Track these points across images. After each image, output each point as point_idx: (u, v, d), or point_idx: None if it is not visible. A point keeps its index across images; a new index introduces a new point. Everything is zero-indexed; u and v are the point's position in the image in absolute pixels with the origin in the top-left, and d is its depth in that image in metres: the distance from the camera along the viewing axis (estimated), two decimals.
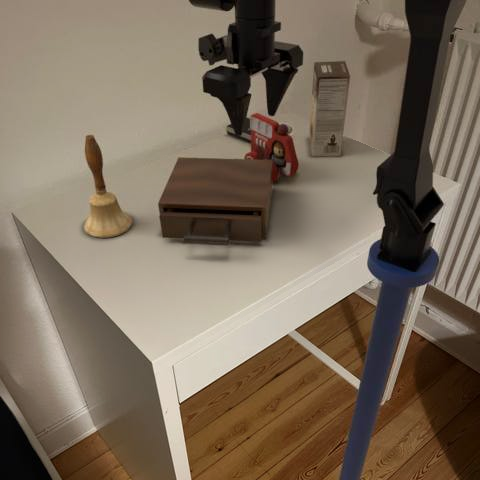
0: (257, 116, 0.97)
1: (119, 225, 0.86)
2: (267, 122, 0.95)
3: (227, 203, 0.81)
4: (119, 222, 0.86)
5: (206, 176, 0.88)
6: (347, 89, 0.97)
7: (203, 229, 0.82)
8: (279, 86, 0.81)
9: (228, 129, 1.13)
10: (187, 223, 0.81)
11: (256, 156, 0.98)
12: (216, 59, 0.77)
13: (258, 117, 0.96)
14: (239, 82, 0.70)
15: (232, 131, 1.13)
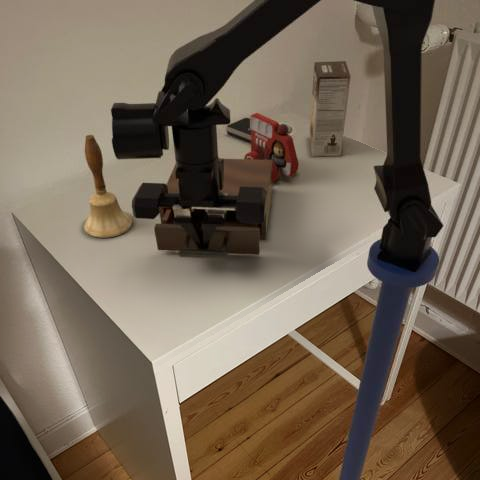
0: (257, 116, 0.97)
1: (119, 225, 0.86)
2: (267, 122, 0.95)
3: None
4: (119, 222, 0.86)
5: None
6: (348, 89, 0.97)
7: None
8: None
9: (228, 129, 1.13)
10: (183, 235, 0.79)
11: (256, 156, 0.98)
12: None
13: (258, 117, 0.96)
14: (139, 206, 0.70)
15: (232, 131, 1.13)
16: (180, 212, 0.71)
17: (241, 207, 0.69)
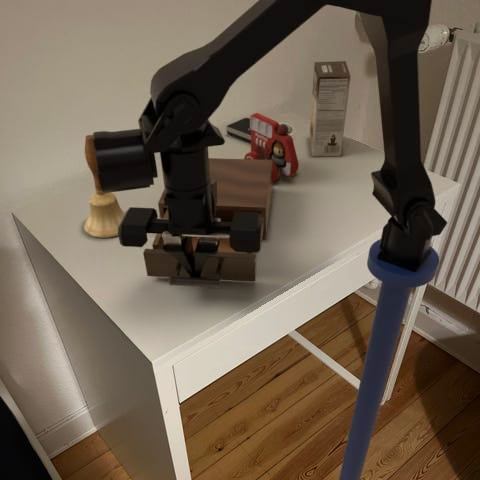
0: (257, 116, 0.97)
1: None
2: (267, 122, 0.95)
3: (227, 203, 0.81)
4: (119, 222, 0.86)
5: None
6: (348, 89, 0.97)
7: None
8: None
9: (228, 129, 1.13)
10: (174, 261, 0.74)
11: (256, 156, 0.98)
12: None
13: (258, 117, 0.96)
14: (126, 233, 0.65)
15: (232, 131, 1.13)
16: (170, 240, 0.66)
17: (235, 235, 0.64)
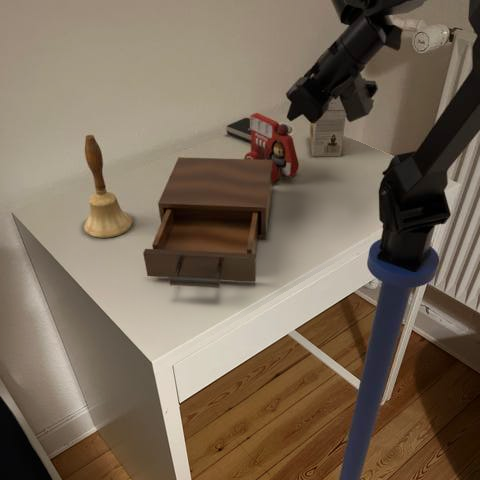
0: (257, 116, 0.97)
1: (119, 225, 0.86)
2: (267, 122, 0.95)
3: (227, 203, 0.81)
4: (119, 222, 0.86)
5: (206, 176, 0.88)
6: None
7: (192, 267, 0.74)
8: None
9: (228, 129, 1.13)
10: (174, 261, 0.74)
11: (256, 156, 0.98)
12: None
13: (258, 117, 0.96)
14: (327, 49, 0.85)
15: (232, 131, 1.13)
16: None
17: (302, 78, 0.76)
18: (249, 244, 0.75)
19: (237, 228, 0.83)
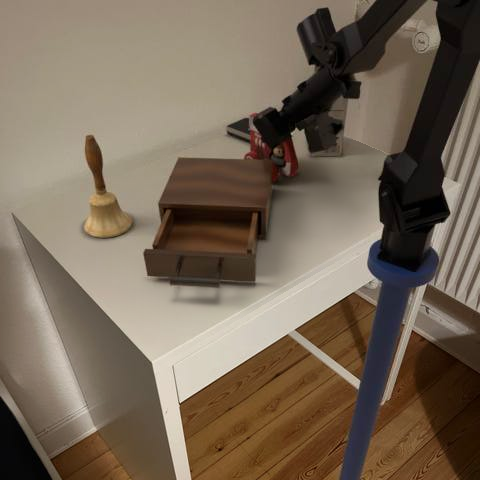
0: None
1: (119, 225, 0.86)
2: None
3: (227, 203, 0.81)
4: (119, 222, 0.86)
5: (206, 176, 0.88)
6: None
7: (192, 267, 0.74)
8: None
9: (228, 129, 1.13)
10: (174, 261, 0.74)
11: (256, 156, 0.98)
12: None
13: None
14: None
15: (232, 131, 1.13)
16: None
17: (270, 108, 0.86)
18: (249, 244, 0.75)
19: (237, 228, 0.83)
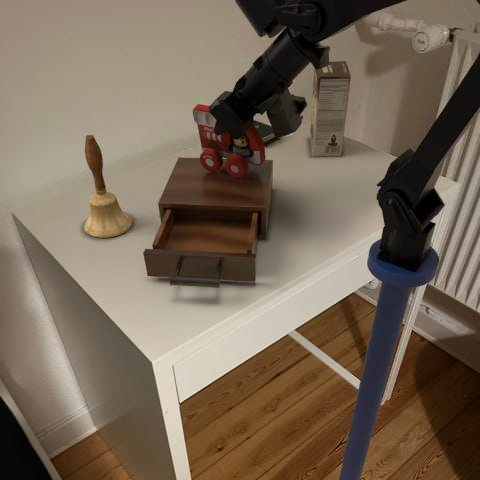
0: (202, 108, 0.83)
1: (119, 225, 0.86)
2: None
3: (227, 203, 0.81)
4: (119, 222, 0.86)
5: (206, 176, 0.88)
6: (348, 89, 0.97)
7: (192, 267, 0.74)
8: None
9: None
10: (174, 261, 0.74)
11: (215, 153, 0.86)
12: None
13: (204, 109, 0.83)
14: None
15: None
16: None
17: (226, 93, 0.73)
18: (249, 244, 0.75)
19: (237, 228, 0.83)
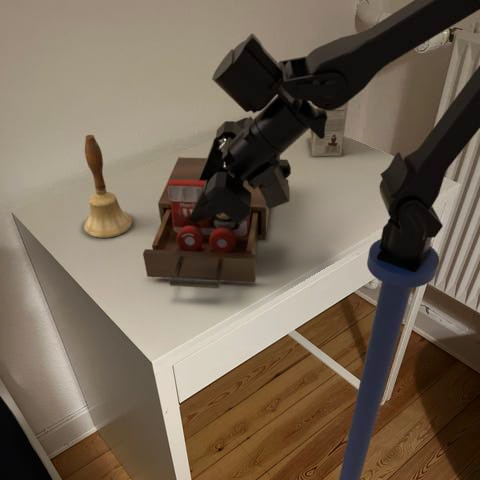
0: (178, 183, 0.74)
1: (119, 225, 0.86)
2: (199, 185, 0.74)
3: None
4: (119, 222, 0.86)
5: None
6: None
7: (192, 268, 0.74)
8: None
9: None
10: (174, 262, 0.74)
11: (196, 230, 0.76)
12: None
13: (181, 183, 0.74)
14: (225, 123, 0.74)
15: None
16: (223, 139, 0.74)
17: (221, 175, 0.64)
18: (249, 244, 0.75)
19: None
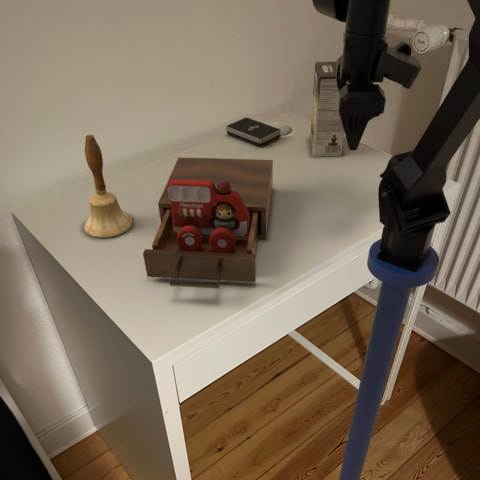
0: (178, 183, 0.74)
1: (119, 225, 0.86)
2: (199, 185, 0.74)
3: None
4: (119, 222, 0.86)
5: (206, 176, 0.88)
6: None
7: (192, 268, 0.74)
8: None
9: (228, 129, 1.13)
10: (174, 262, 0.74)
11: (196, 230, 0.76)
12: None
13: (181, 183, 0.74)
14: (337, 60, 0.82)
15: (232, 131, 1.13)
16: None
17: (342, 89, 0.71)
18: (249, 244, 0.75)
19: None
